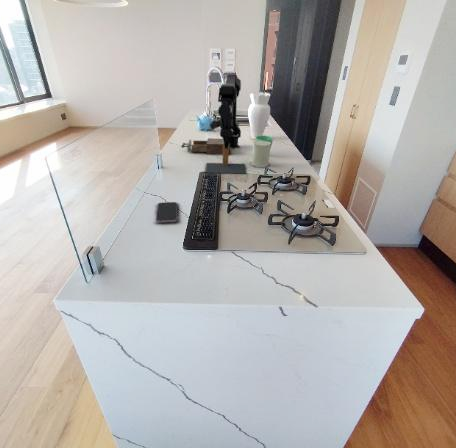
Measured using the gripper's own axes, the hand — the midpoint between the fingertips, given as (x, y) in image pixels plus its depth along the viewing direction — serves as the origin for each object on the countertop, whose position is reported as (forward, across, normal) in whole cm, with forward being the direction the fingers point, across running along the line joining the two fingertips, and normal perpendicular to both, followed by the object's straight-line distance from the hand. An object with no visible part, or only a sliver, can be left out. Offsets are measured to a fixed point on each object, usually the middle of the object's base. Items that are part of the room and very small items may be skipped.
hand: (226, 145), depth 146 cm
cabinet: (+10, -24, -4) cm, 27 cm away
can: (+10, -3, +19) cm, 22 cm away
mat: (+10, +5, 0) cm, 12 cm away
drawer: (+9, -25, -18) cm, 32 cm away
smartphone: (+11, +54, -22) cm, 59 cm away
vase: (+10, -57, +22) cm, 62 cm away
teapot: (+10, -80, -16) cm, 82 cm away
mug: (+10, -21, +22) cm, 33 cm away
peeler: (+10, 0, 0) cm, 10 cm away
